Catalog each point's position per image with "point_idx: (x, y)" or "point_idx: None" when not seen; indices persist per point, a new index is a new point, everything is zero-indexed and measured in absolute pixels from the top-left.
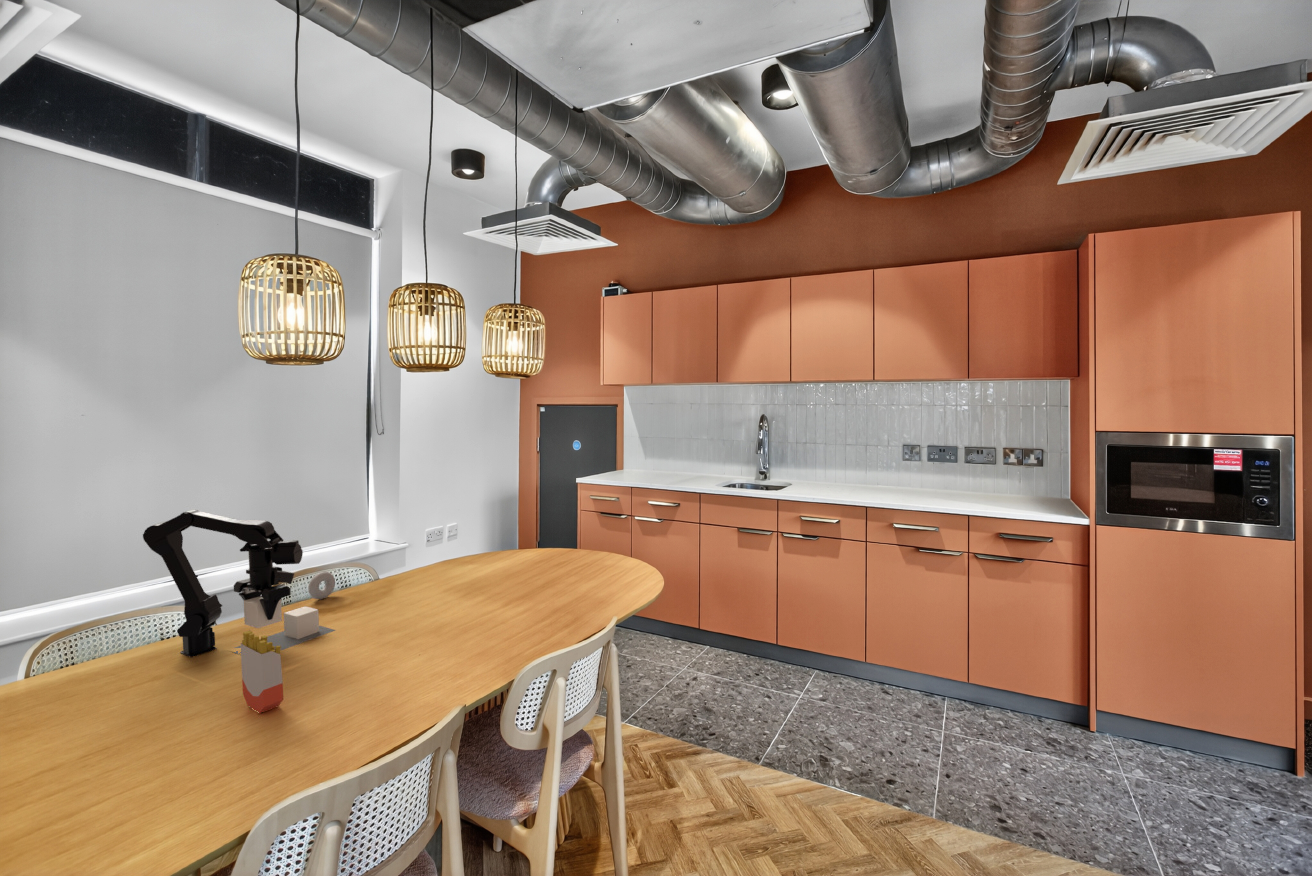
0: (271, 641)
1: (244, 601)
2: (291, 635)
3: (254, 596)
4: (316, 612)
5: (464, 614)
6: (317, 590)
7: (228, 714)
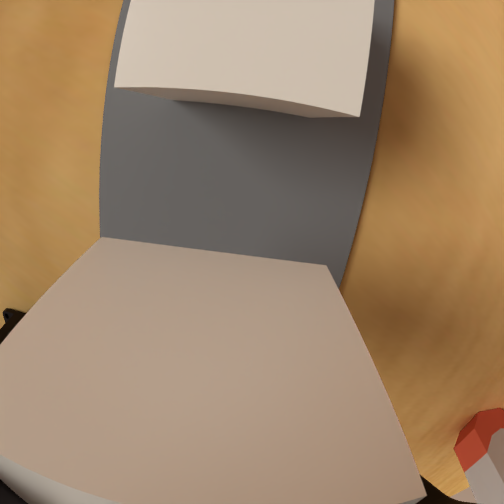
0: (187, 193)
1: None
2: (245, 106)
3: (9, 500)
4: None
5: None
6: None
7: (441, 449)
